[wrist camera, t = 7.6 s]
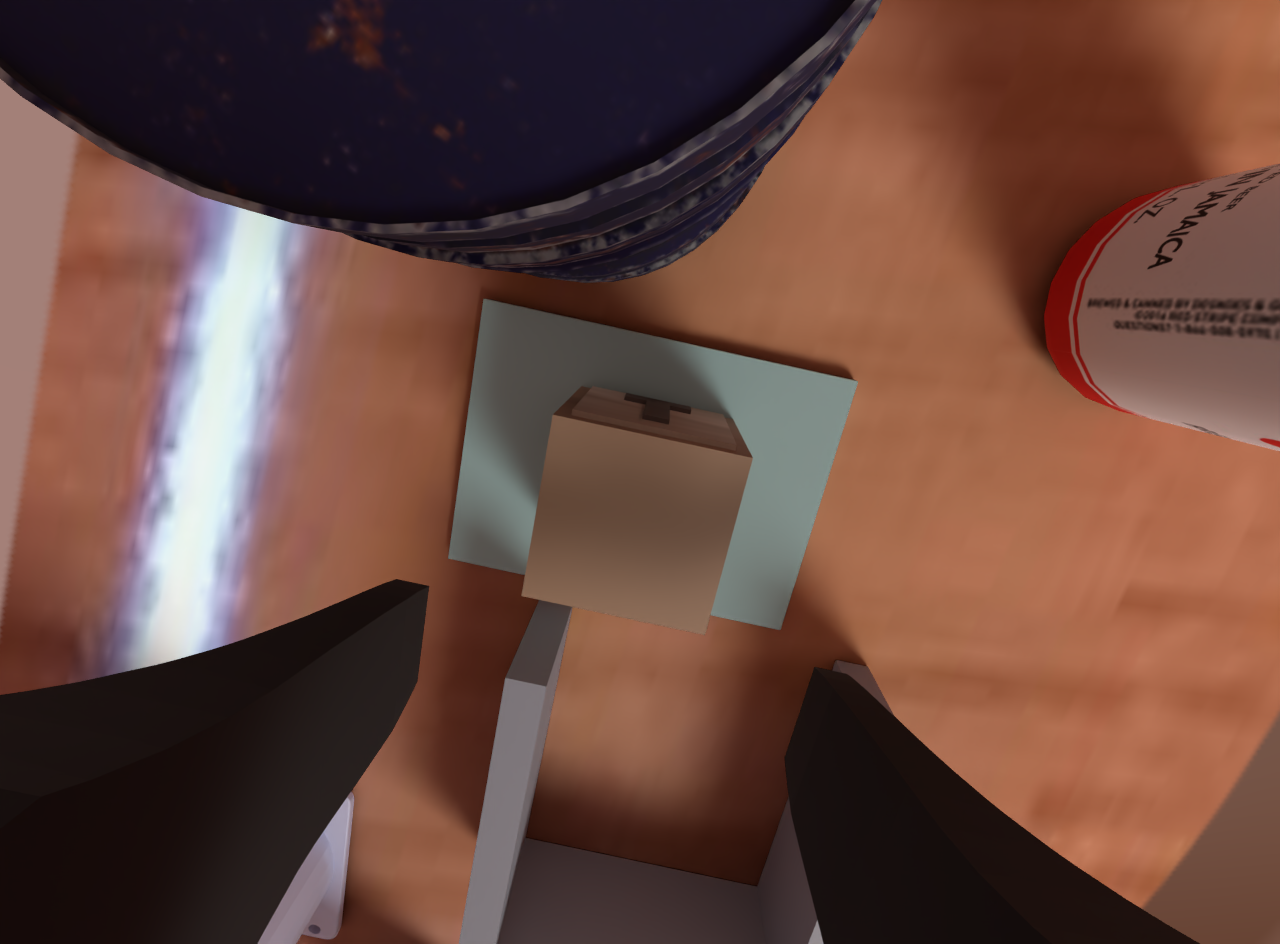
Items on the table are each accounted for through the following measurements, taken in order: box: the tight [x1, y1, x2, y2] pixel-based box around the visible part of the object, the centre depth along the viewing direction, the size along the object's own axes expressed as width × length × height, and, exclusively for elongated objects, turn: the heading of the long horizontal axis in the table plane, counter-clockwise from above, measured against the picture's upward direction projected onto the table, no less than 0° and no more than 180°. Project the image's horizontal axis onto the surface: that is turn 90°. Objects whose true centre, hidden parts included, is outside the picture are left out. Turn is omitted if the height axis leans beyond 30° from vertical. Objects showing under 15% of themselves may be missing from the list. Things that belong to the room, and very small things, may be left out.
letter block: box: [521, 386, 753, 635], centre depth 18 cm, size 5×5×5 cm
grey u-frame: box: [459, 600, 893, 944], centre depth 22 cm, size 12×12×5 cm
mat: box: [448, 299, 858, 630], centre depth 21 cm, size 12×9×1 cm
